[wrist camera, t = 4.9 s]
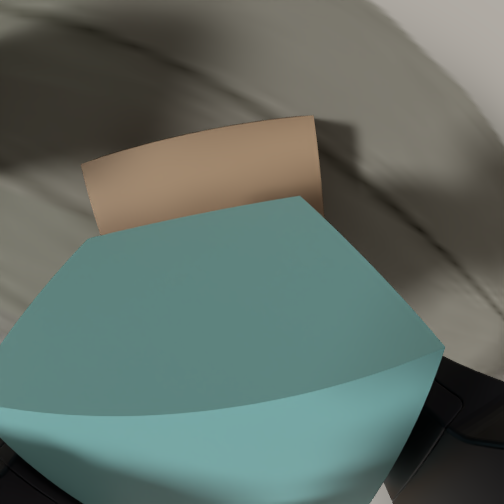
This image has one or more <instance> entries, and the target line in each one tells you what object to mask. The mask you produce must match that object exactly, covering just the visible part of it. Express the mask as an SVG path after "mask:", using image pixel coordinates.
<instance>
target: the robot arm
mask: <svg viewBox="0 0 504 504" xmlns="http://www.w3.org/2000/svg"><path fill="white" fill-rule="evenodd" d="M384 484H385V486H386V488H387V491H388V493H389V495H390V498H391V500H392V501H393V502H392V503H393V504H504V381H501V380H498V379H496V378H493V377H491V376H488V375H485V374H483V373H480V372H478V371H475V370H473V369H470V368H468V367H466V366H463V365H461V364H459V363H457V362H454V361H452V360H450V359H448V358H446V357H444V356H442V358H441V361H440V364H439V367H438V370H437V372H436V375H435V378H434V380H433V383H432V386H431V388H430V391H429V393H428V396H427V398H426V400H425V403H424V405H423V407H422V410H421V412H420V414H419V416H418V419H417V421H416V423H415V425H414V427H413V429H412V431H411V433H410V435H409V437H408V439H407V441H406V443H405V445H404V447H403V449H402V451H401V453H400V454H399V456H398V458H397V460H396V462H395V463H394V465H393V467H392V469H391V470H390V472H389V474H388V475H387V477H386V479H385V480H384ZM0 504H83V503H82V502H80V501H78V500H77V499H75V498H74V497H72V496H71V495H69V494H68V493H66V492H65V491H64V490H62V489H61V488H59V487H58V486H57V485H55V484H54V483H52V482H51V481H50V480H48V479H47V478H46V477H45V476H43V475H42V474H41V473H39V472H38V471H37V470H36V469H35V468H33V467H32V466H31V465H30V464H28V463H27V462H26V461H25V460H24V459H23V458H22V457H20V456H19V455H18V454H17V453H16V452H15V451H14V450H13V449H12V448H10V447H9V446H8V445H7V444H6V443H5V442H4V441H3V440H2V439H1V438H0Z"/></svg>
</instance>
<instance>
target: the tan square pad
mask: <svg viewBox="0 0 504 504" xmlns="http://www.w3.org/2000/svg"><path fill="white" fill-rule="evenodd" d="M81 168H82V172H83V176H84V180H85V184H86V187H87V191H88V195H89V198H90V202H91V205H92V209H93V212H94V216H95V219H96V222H97V225H98V228H99V232H100V235H105V234H109V233H113V232H118V231H122V230H126V229H131V228H135V227H139V226H144V225H148V224H153V223H158V222H162V221H167V220H172V219H176V218H181V217H186V216H191V215H196V214H201V213H206V212H211V211H216V210H221V209H226V208H232V207H237V206H243V205H248V204H254V203H259V202H265V201H271V200H277V199H283V198H289V197H295V196H301V197H302V198H303V199H304V200H305V201H306V202H307V203H309V204H310V205H311V206H312V207H313V208H314V209H315V210H316V211H317V212H318V213H319V214H320V215H321V216H322V217H323V218H324V208H323V196H322V185H321V175H320V165H319V155H318V147H317V138H316V130H315V123H314V115H313V116H295V117H286V118H277V119H269V120H262V121H255V122H248V123H242V124H236V125H230V126H224V127H219V128H213V129H208V130H203V131H198V132H193V133H189V134H184V135H180V136H175V137H171V138H167V139H163V140H159V141H155V142H151V143H147V144H143V145H139V146H136V147H132V148H129V149H125V150H122V151H118V152H115V153H112V154H108V155H105V156H102V157H99V158H97V159H94V160H91V161H88V162H86V163H83V164H81Z"/></svg>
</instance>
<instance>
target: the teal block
mask: <svg viewBox="0 0 504 504" xmlns="http://www.w3.org/2000/svg"><path fill="white" fill-rule="evenodd" d="M444 349H445V346H444V345H443V344H442V343H441V342H440V340H439V339H438V338H437V337H436V336H435V334H434V333H433V332H432V331H431V330H430V329H429V328H428V326H427V325H426V324H425V323H424V322H423V321H422V319H421V318H420V317H419V316H418V315H417V314H416V313H415V312H414V310H413V309H412V308H411V307H410V306H409V305H408V304H407V303H406V302H405V300H404V299H403V298H402V297H401V296H400V295H399V294H398V293H397V292H396V291H395V290H394V288H393V287H392V286H391V285H390V284H389V283H388V282H387V281H386V280H385V279H384V278H383V277H382V276H381V275H380V274H379V273H378V271H377V270H376V269H375V268H374V267H373V266H372V265H371V264H370V263H369V262H368V261H367V260H366V259H365V258H364V257H363V256H362V255H361V254H360V253H359V252H358V251H357V250H356V249H355V248H354V247H353V246H352V245H351V244H350V243H349V242H348V241H347V240H346V239H345V238H344V237H343V236H342V235H341V234H340V233H339V232H338V231H337V230H336V229H335V228H334V227H333V226H332V225H331V224H330V223H329V222H328V221H327V220H325V219H324V218H323V217H322V216H321V215H320V214H319V213H318V212H317V211H316V210H315V209H314V208H313V207H312V206H311V205H310V204H309V203H307V202H306V201H305V200H304V199H303V198H302V197H301V196H295V197H289V198H283V199H277V200H271V201H265V202H259V203H254V204H248V205H243V206H237V207H232V208H226V209H221V210H216V211H211V212H206V213H201V214H196V215H191V216H186V217H181V218H176V219H172V220H167V221H162V222H158V223H153V224H148V225H144V226H139V227H135V228H131V229H126V230H122V231H118V232H113V233H109V234H105V235H101V236H97V237H93V238H89V239H87V240H86V241H85V242H84V243H83V245H82V246H81V247H80V248H79V249H78V250H77V251H76V252H75V253H74V254H73V255H72V256H71V257H70V259H69V260H68V261H67V262H66V263H65V264H64V265H63V266H62V267H61V269H60V270H59V271H58V272H57V273H56V274H55V275H54V277H53V278H52V279H51V280H50V281H49V282H48V284H47V285H46V286H45V287H44V288H43V290H42V291H41V292H40V293H39V294H38V296H37V297H36V298H35V299H34V301H33V302H32V303H31V304H30V306H29V307H28V308H27V309H26V311H25V312H24V313H23V314H22V316H21V317H20V318H19V320H18V321H17V322H16V324H15V325H14V326H13V328H12V329H11V331H10V332H9V333H8V335H7V336H6V337H5V339H4V340H3V342H2V343H1V345H0V438H1V439H2V440H3V441H4V442H5V443H6V444H7V445H8V446H9V447H10V448H12V449H13V450H14V451H15V452H16V453H17V454H18V455H19V456H20V457H22V458H23V459H24V460H25V461H26V462H27V463H28V464H30V465H31V466H32V467H33V468H35V469H36V470H37V471H38V472H39V473H41V474H42V475H43V476H45V477H46V478H47V479H48V480H50V481H51V482H52V483H54V484H55V485H57V486H58V487H59V488H61V489H62V490H64V491H65V492H66V493H68V494H69V495H71V496H72V497H74V498H75V499H77V500H78V501H80V502H82V503H83V504H369V503H370V502H371V501H372V499H373V498H374V496H375V494H376V493H377V491H378V490H379V488H380V487H381V485H382V483H383V482H384V480H385V479H386V477H387V475H388V474H389V472H390V470H391V469H392V467H393V465H394V463H395V462H396V460H397V458H398V456H399V454H400V453H401V451H402V449H403V447H404V445H405V443H406V441H407V439H408V437H409V435H410V433H411V431H412V429H413V427H414V425H415V423H416V421H417V419H418V416H419V414H420V412H421V410H422V407H423V405H424V403H425V400H426V398H427V396H428V393H429V391H430V388H431V386H432V383H433V380H434V378H435V375H436V372H437V370H438V367H439V364H440V361H441V358H442V355H443V352H444Z"/></svg>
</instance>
